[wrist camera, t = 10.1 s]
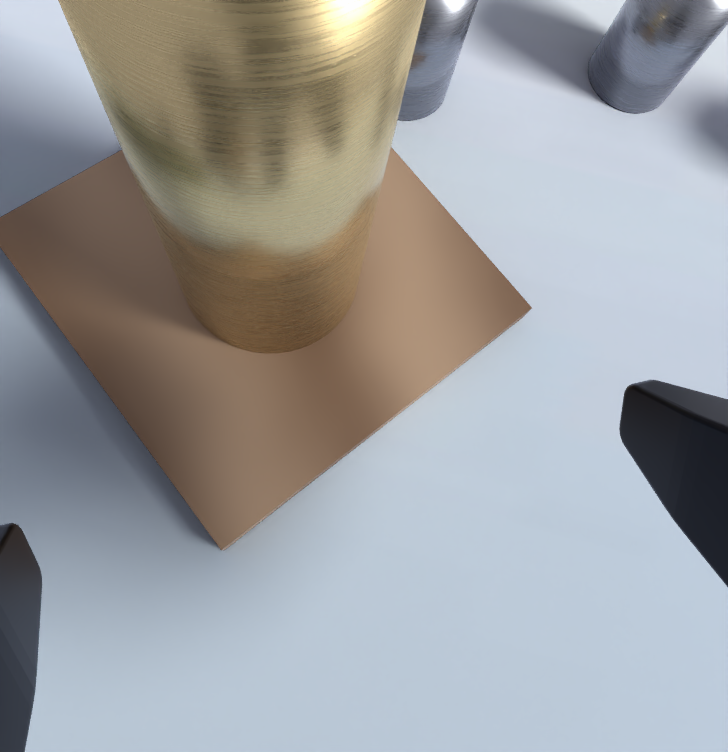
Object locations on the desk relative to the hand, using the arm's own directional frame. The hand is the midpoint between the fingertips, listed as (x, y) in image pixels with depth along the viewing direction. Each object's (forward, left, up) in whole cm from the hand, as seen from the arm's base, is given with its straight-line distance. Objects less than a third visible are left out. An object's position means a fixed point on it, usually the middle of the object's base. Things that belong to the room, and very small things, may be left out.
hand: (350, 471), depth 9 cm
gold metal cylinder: (+3, +6, -7) cm, 10 cm away
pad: (+3, +6, -8) cm, 11 cm away
